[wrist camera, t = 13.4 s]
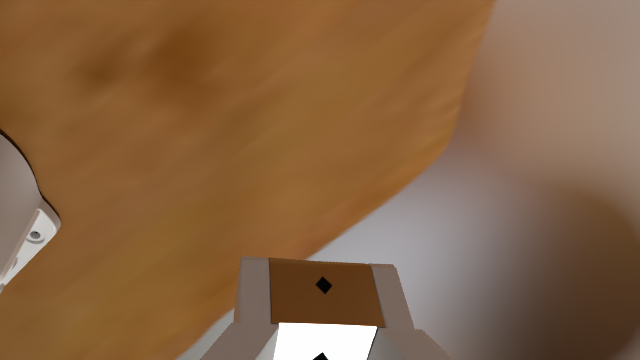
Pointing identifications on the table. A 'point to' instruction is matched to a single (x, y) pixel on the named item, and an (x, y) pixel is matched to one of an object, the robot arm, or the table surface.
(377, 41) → the table surface
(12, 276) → the robot arm
